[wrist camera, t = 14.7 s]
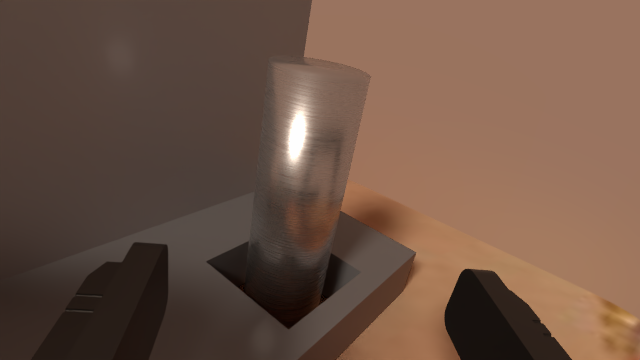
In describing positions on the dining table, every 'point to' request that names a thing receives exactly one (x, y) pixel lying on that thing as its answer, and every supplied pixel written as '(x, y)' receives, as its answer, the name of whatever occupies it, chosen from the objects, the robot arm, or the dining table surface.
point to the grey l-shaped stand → (158, 173)
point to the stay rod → (301, 180)
